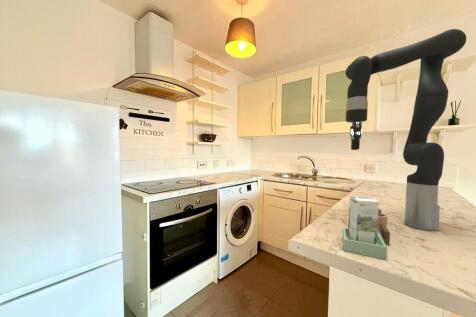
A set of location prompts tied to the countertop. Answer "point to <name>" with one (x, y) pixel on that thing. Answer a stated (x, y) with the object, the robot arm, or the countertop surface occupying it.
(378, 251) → the trough
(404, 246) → the countertop surface
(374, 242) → the syrup box
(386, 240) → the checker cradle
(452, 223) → the countertop surface
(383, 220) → the cup
